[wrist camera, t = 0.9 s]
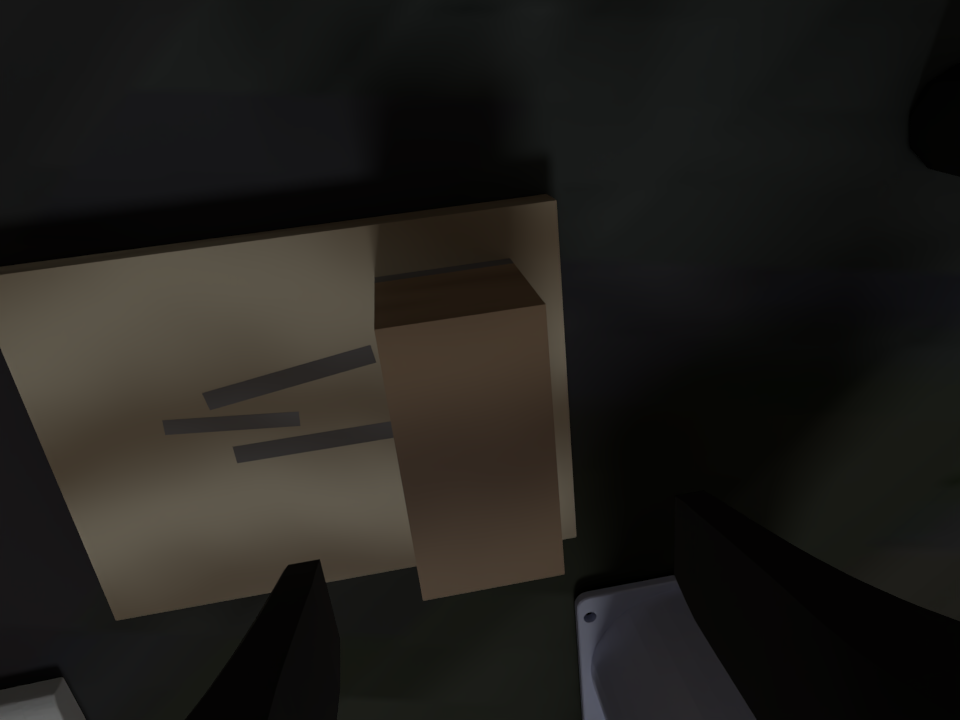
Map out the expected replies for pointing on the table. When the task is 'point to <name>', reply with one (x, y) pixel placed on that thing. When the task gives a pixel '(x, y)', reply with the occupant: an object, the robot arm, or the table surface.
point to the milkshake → (938, 123)
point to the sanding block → (472, 424)
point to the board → (246, 395)
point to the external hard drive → (40, 702)
